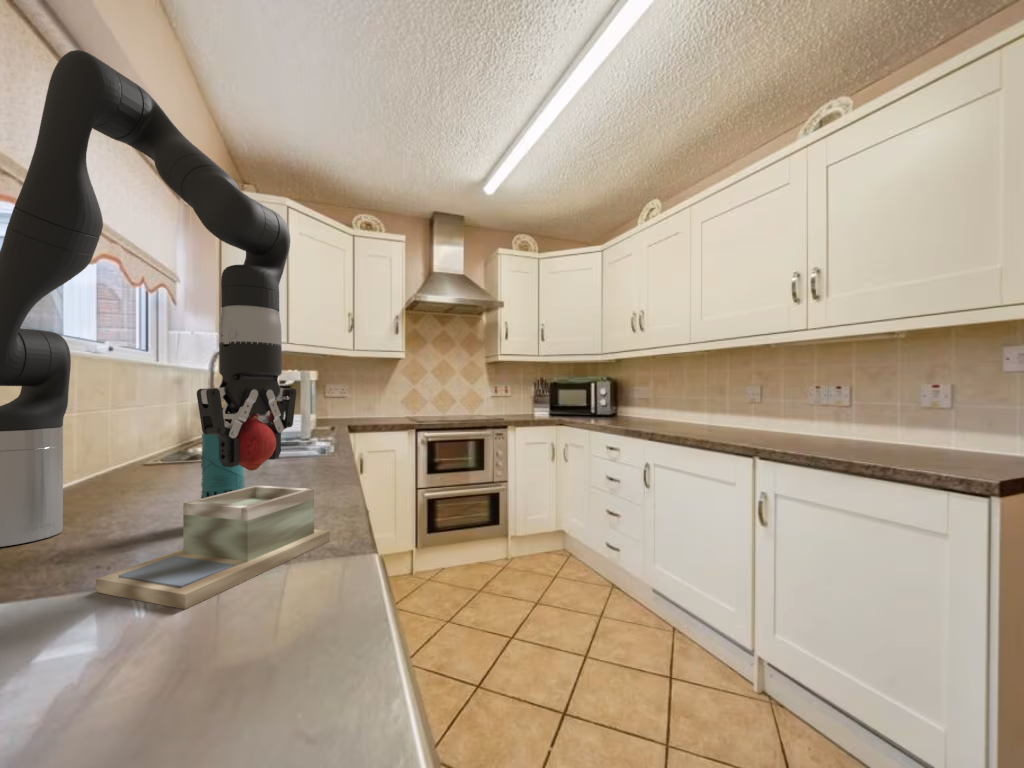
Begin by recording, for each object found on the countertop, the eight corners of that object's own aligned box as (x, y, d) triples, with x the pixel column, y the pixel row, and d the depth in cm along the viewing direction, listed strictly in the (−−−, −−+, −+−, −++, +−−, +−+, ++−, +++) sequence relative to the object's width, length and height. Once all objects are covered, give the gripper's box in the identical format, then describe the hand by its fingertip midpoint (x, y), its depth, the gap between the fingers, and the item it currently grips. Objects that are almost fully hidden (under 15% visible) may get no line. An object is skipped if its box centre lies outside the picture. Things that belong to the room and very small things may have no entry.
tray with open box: (96, 592, 48) (96, 520, 49) (257, 533, 68) (257, 482, 69) (185, 609, 44) (185, 531, 44) (329, 540, 64) (329, 487, 64)
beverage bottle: (240, 514, 79) (240, 406, 80) (250, 522, 75) (249, 407, 75) (197, 522, 75) (197, 408, 75) (204, 531, 70) (204, 408, 70)
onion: (253, 475, 56) (253, 414, 57) (216, 474, 58) (216, 414, 58) (285, 467, 62) (284, 412, 62) (251, 466, 63) (250, 412, 63)
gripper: (273, 348, 68) (273, 454, 68) (178, 338, 55) (178, 470, 54) (311, 346, 66) (312, 455, 66) (222, 334, 52) (223, 473, 52)
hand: (251, 462), depth 60 cm, fingers closed on onion, 6 cm apart
